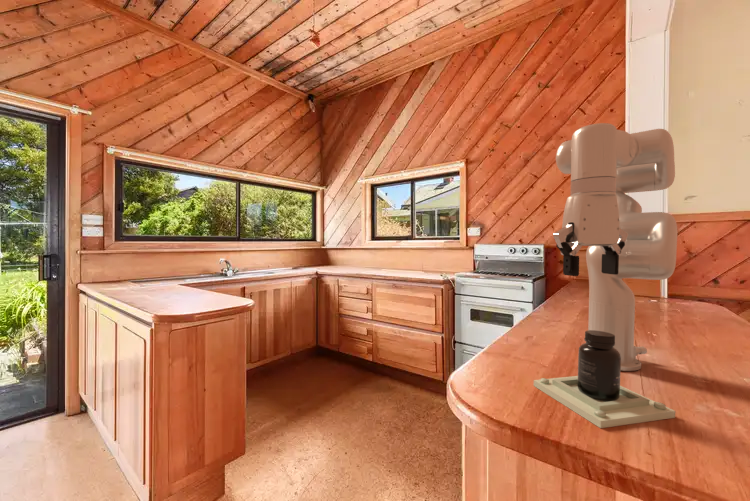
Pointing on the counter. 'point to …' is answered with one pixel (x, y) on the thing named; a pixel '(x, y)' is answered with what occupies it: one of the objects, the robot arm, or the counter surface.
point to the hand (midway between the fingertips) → (590, 274)
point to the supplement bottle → (599, 366)
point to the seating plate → (604, 404)
